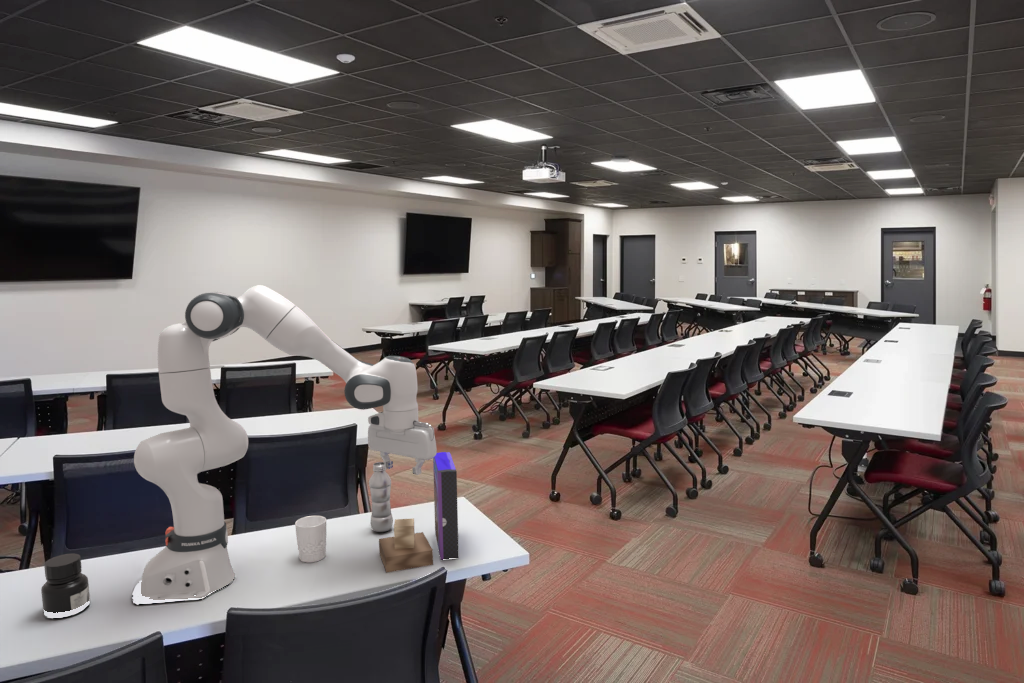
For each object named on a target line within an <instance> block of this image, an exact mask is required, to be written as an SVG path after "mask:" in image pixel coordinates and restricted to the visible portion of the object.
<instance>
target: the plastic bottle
mask: <svg viewBox="0 0 1024 683" xmlns="http://www.w3.org/2000/svg"><path fill="white" fill-rule="evenodd" d="M372 467H373V468H372V472H373V473H372V475H371V476H370V478H369V479H368V480H369V481H368V485H369V490H370V499H371V516H370V527H371V529H372V531H373V532H375V533H385V532H387V531H390V530H391V529H392V527H393V526H394V524H393V523H394V519H393V514H392V509H391V491H392V490H391V488H392V479H391V477H390V475H389V473H388V472H386V470H387V469H386V468H384V461H377V462H373V464H372Z"/></svg>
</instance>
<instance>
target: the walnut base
mask: <svg viewBox="0 0 1024 683" xmlns="http://www.w3.org/2000/svg"><path fill="white" fill-rule="evenodd" d="M378 548H379V549H378V553H379V556H380V559H381V561H382V563H383V567H384V569H385V573H392V572H398V571H404V570H411V569H416V568H422V567H423V568H424V567H427V566H433V565H434V550H433V548H432V546H431V544H430V542H429V540H428V539H427V537H426V535H425V533H424V532H423V531H422V532H417V533H416V532H415V544H414V548H406V549H395V543H394V536H389V537H382V538H378Z"/></svg>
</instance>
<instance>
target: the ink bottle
mask: <svg viewBox="0 0 1024 683" xmlns="http://www.w3.org/2000/svg"><path fill="white" fill-rule="evenodd" d="M43 566H44V574H45V575H44V576H45V580H46V582H45V583H44V584H42V587H41V602H42V610H43V609H44V610H45V611H47V612H53V613H56V612H57V613H58V612H65V611H70V610H73V609H76V608H78V607H80V606H82V605H84V604H85V603H86V602H88V601H89V599H90V600H91V594H90V593H91V592H90V586H89V585H90V584H89V578H88V576H87V575H86V574H84V573H82V572H83V571H82V570H83V569H82V568H83V567H82V560H81V555H80V554H78V553H65V554H59V555H56V556H54V557H51V558H49V559H47V560H46V561H44V564H43Z"/></svg>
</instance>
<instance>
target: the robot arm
mask: <svg viewBox="0 0 1024 683" xmlns="http://www.w3.org/2000/svg"><path fill="white" fill-rule="evenodd" d="M184 319H185V321H183V322H182V323H181V322H180V323H179V322H178V323H173V324H170V325H169V326H166V327H165V328H163V329H162V330H161V332H160V333H159V336H158V343H157V368H158V369H157V370H158V377H159V387H160V394H161V395H160V396H161V402H162V404H163V406H164V407H165V408H166V409H168V410H169V411H171V412H173V413H175V414H179V415H182V416H186V418H187V419H188V422H189V425H190V426H189V427H186V428H182V429H176V430H171V431H166V432H161V433H158V434H155V435H154V436H153V435H152V436H150V437H148V438H146V439H144V440H141V441H140V442H139V444H138V445H137V447H136V448H135V451H134V455H133V465H134V467H135V469H136V472H137V473H138V475H140V477H142V478H143V479H144V480H146V481H148V482H150V483H152V484H153V485H156V486H158V487H159V488H160V489H161V490H162V491H163V492H164V494H165V495H166V496H167V498H168V500H169V503H170V507H171V511H172V513H171V514H172V519H173V520H172V521H173V526H168V528H166V530H165V534H164V535H165V538H164V539H165V540H164V541H165V547H164V548H163V549H162V550H160V551H159V552H158V553H157V554H156V555H154V556H153V557H152V558H151V559H150V560H148V562H147V563H146V565H145V566H144V569H143V572H142V576H141V579H142V582H141V594H142V596H145V597H150V598H149V599H153V600H165V599H188V598H202V597H205V596H207V595H208V594H209V593H211V592H213V591H215V590H218V589H220V588H222V587H224V586H226V585H227V584H229V583H230V582H231V581H232V582H233V581H234V580H235V578H236V573H235V571H234V569H233V566H232V563H231V560H230V555H229V550H228V544H229V537H228V536H229V535H228V528H227V522H226V521H225V514H224V500H223V495H222V493H221V491H220V490H219V489H217V487H215V486H212V485H210V484H206V483H201V482H199V480H198V474H200V473H201V472H202V473H203V472H206V471H209V470H214V469H218V468H220V467H221V468H222V467H225V466H228V465H230V464H232V463H235V462H236V461H239V460H240V459H242V458H244V457H245V455H246V453H247V451H248V449H249V437H248V434H247V431H246V430H245V428H244V427H243V426H242V425H241V424H240V423H238V422H237V421H234V420H233V419H231V418H230V417H228V415H227V414H225V412H224V411H223V410H222V409H221V407H220V405H219V404H218V401H217V399H216V396H215V391H214V388H213V379H212V372H211V365H210V356H209V353H210V352H209V350H210V346H211V344H212V342H215V341H219V340H220V339H223V338H224V339H225V338H226V337H229V336H231V335H233V334H235V333H236V332H237V331H238V330H239V329H240V328H248V329H250V330H251V331H254V332H255V333H257V334H258V335H259V336H260V337H262V338H263V339H264V340H265V341H266V342H268V343H269V344H270V345H272V346H273V347H274V348H276V349H278V350H279V351H280V352H281V351H282V352H283V353H285V354H287V355H289V356H297V357H299V356H300V357H307V358H310V359H311V358H312V359H314V360H315V361H317V362H320V363H321V364H323V365H324V366H325V367H327V368H328V369H329V370H330V371H332V372H333V373H334V374H335V375H338V376H339V377H340V378H341V379H342V380H343V381H344V382H345V386H344V397H345V399H346V401H347V403H348V404H349V405H350V406H351V407H352V408H355V409H358V410H361V411H362V410H370V409H375V408H379V407H382V409H383V411H381V412H379V413H374V414H372V415H370V416H368V417H367V418H368V419H367V421H368V422H367V423H368V424H369V426H368V429H367V445H368V447H369V449H370V450H371V451H375V452H379V453H380V454H379V455H380V457H381V459H382V462H384V468H386V470H391V469H393V468H394V465H393V464H394V461H393V460H391V459H390V456H389V455H390V454H392V455H396V456H400V457H401V456H402V457H407V458H412V459H415V460H414V461H415V463H416V464H415V466H413V467H412V474H413V475H416V476H418V475H421V474H422V467H423V464H424V463H425V461H429V460H431V459H432V460H433V458H434V457H435V456H436V454H437V453H438V452H437V451H438V450H437V441H436V437H435V428H434V427H433V426H432V425H431V424H430V423H429V422H425V421H424V422H422V421H419V403H418V401H417V394H418V391H419V390H418V386H419V385H418V376H417V375H418V374H417V369H416V365H415V363H414V362H413V361H412V359H409V358H408V357H405V356H400V355H388V356H387V355H386V356H385V357H384V358H383V359H381V360H380V361H379V362H377V363H375V364H373V363H370V362H366V361H364V360H363V361H362V360H360V359H359V358H356V357H355V356H354V355H352V354H351V353H349V352H348V351H347V350H345V349H344V348H343V347H341V346H340V345H339V344H338V343H336V342H335V341H334V340H333V339H331V338H330V337H329V336H328V335H327V334H326V333H325V332H324V330H322V329H321V328H320V326H318V325H317V323H316V322H314V320H313V319H312V318H311V317H310V316H308V314H307V313H305V311H303V310H302V309H301V308H299V306H297V305H296V304H295V303H293V302H292V301H290V300H289V299H288V298H287V297H285V296H283V295H282V294H280V293H279V292H277V291H275V290H274V289H272V288H270V287H268V286H266V285H264V284H263V285H262V284H257V285H253V286H250V287H249V288H248V289H246V290H245V291H244V292H243V293H242V294H241V295H240V296H238V297H237V296H233V295H230V294H227V293H224V292H218V291H211V292H205V293H201V294H198V295H196V296H194V298H192V299H191V300H190V301H189V303H187V306H186V308H185V312H184ZM234 577H235V578H234ZM233 579H234V580H233ZM232 582H231V583H232ZM231 583H230V584H231ZM230 584H229V585H230ZM226 587H227V586H226ZM224 588H225V587H224ZM222 589H223V588H222ZM220 590H221V589H220ZM218 591H219V590H218ZM194 595H196V596H194Z"/></svg>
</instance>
